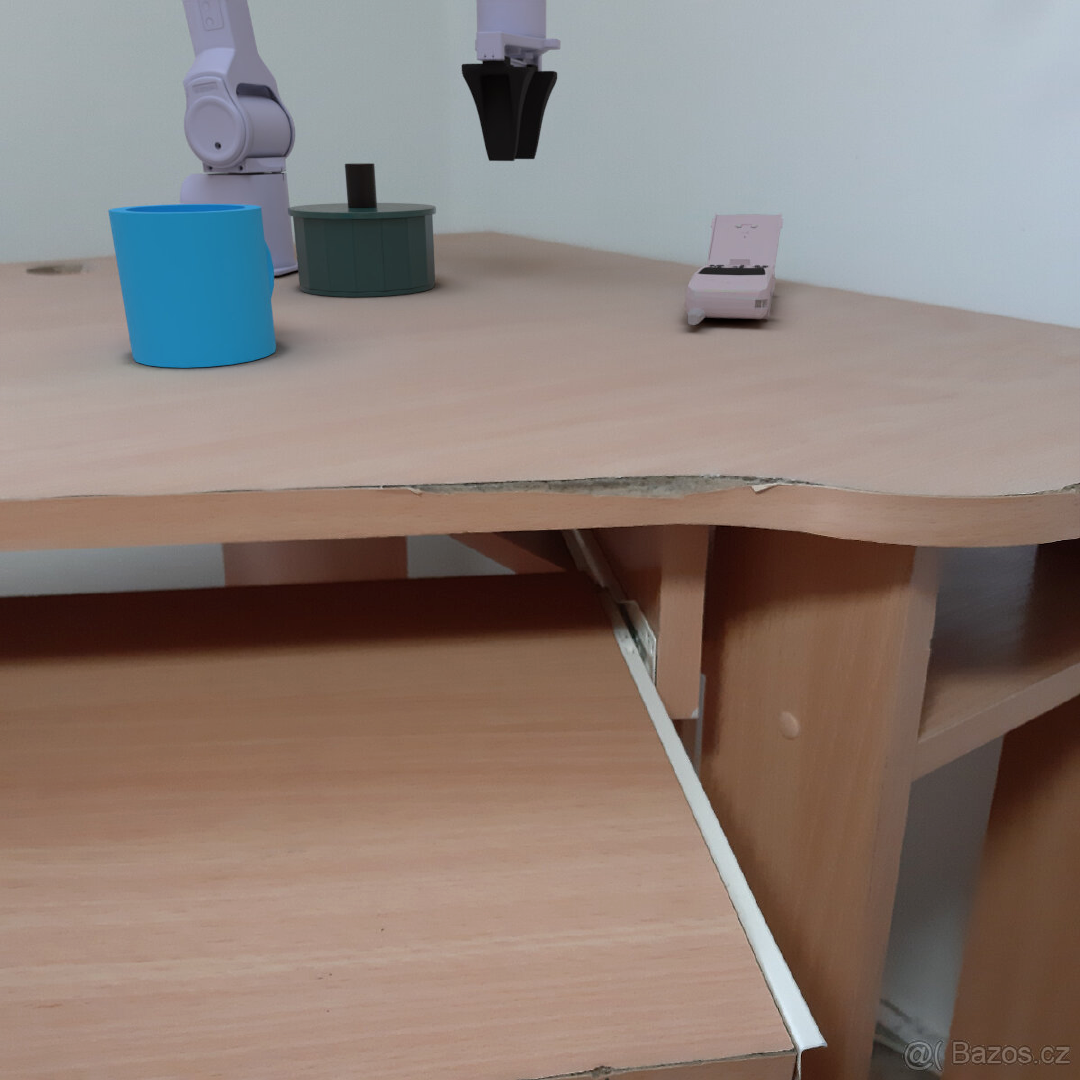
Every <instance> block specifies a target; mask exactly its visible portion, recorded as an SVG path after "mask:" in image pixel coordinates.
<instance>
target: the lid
mask: <svg viewBox="0 0 1080 1080" xmlns="http://www.w3.org/2000/svg"><path fill="white" fill-rule="evenodd" d="M375 168H376V167H375V163H371V162H357V163H355V162H353V163H352V162H350V163H344V173H345V186H346V187H345V188H346V199H347V202H341V203H340V202H339V203H319V204H317V203H315V204H302V205H295V206H290V208H288V215H289V216H291V217H292V218H293V217H300V218H315V219H388V218H407V217H419V216H427V215H432V216H433V215H436V213H437V206H435V205H432V204H424V203H410V202H409V203H407V202H406V203H405V202H378V198H377V185H376V183H377V182H376V169H375Z"/></svg>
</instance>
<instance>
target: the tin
mask: <svg viewBox="0 0 1080 1080" xmlns="http://www.w3.org/2000/svg"><path fill="white" fill-rule="evenodd" d="M433 219H434V217H433V215H427V216H419V217H407V218H388V219H315V218H300V217H293V216H292V220H293V222H292V223H293V232H294V242H295V243H294V244H295V251H296V261H297V264H298V270H297V272H298V284H299V289H300V291H302V292H303V293H307V294H310V295H315V296H316V295H317V296H326V297H339V298H372V297H375V298H376V297H392V296H402V295H403V296H404V295H409V294H415V293H422V292H426V291H428V290H431V289H433V288H434V287H435V282H436V268H435V266H436V265H435V245H434V244H435V242H434V220H433Z"/></svg>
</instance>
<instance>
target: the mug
mask: <svg viewBox="0 0 1080 1080" xmlns="http://www.w3.org/2000/svg"><path fill="white" fill-rule="evenodd" d="M107 212H108V216H109V217H108V218H109V224H110V230H111V235H112V239H113V240H112V241H113V247H114V248H113V249H114V252H115V253H114V254H115V260H116V264H117V272H118V278H119V283H120V289H121V295H122V301H123V307H124V313H125V319H126V326H127V331H128V337H129V343H130V349H131V356H132V359H133V360H134V361H135V363H139V364H141V365H145V366H151V367H152V366H153V367H158V368H159V367H160V368H177V369H179V368H181V369H188V368H189V369H190V368H210V367H220V366H230V365H238V364H242V363H243V364H244V363H247V362H248V363H249V362H253V361H257V360H260V359H263V358H267V357H269V356H271V355H272V354H274V353H276V350H277V342H276V334H275V331H276V330H275V324H274V323H275V322H274V314H273V304H272V299H273V292H274V288H275V276H274V266H273V261H272V257H271V252H270V250H269V248H268V246H267V243H266V241H265V238H264V229H263V220H262V210H261V207H260V206H256V205H243V204H180V203H176V204H173V203H172V204H151V205H150V204H149V205H148V204H147V205H134V206H133V205H131V206H122V207H116V208H115V207H114V208H111V209H108V210H107Z"/></svg>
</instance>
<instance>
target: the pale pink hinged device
mask: <svg viewBox="0 0 1080 1080" xmlns="http://www.w3.org/2000/svg"><path fill="white" fill-rule="evenodd" d="M782 215H783V213H778V214H765V213H761V214H760V213H750V214H747V213H746V214H718V213H714V218H712V220H711V225H710V228H711V233H710V241H709V248H708V256H707V262H706V263H705V264H704V266H702V267H700V268H699V269H698V270H696V271H695V272H694V273H693V274H692V276H691V278H690V280H689V282H688V284H687V287H686V291H685V298H684V299H685V301H684V306H685V307H684V308H685V313H686V315H687V324H688V325H691V326H695V325H699V324H700V323H701V322H702V321H703V320H704V319H706V318H707V319H739V320H740V319H741V320H769V319H770V314H771V310H772V302H773V297H774V293H775V288H776V281H777V280H776V262H777V255H778V250H779V243H780V234H781V229H783V227H784V218H782V217H783V216H782Z"/></svg>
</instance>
